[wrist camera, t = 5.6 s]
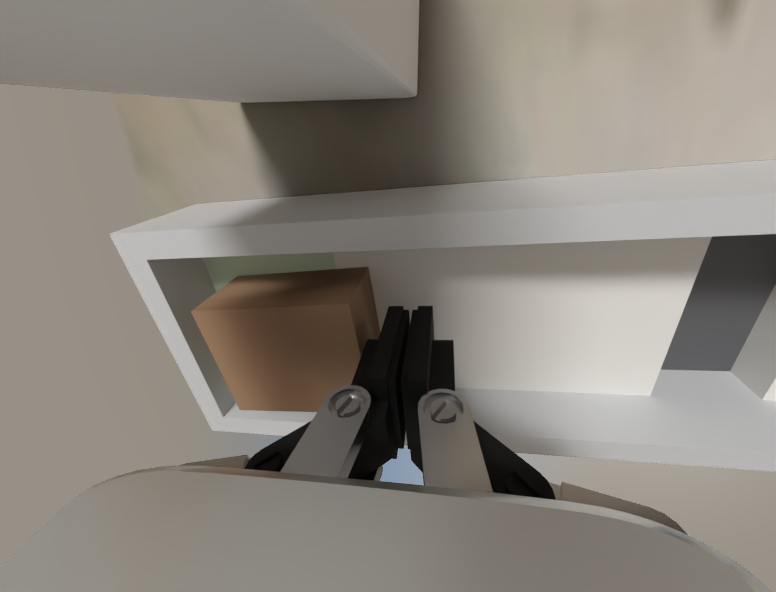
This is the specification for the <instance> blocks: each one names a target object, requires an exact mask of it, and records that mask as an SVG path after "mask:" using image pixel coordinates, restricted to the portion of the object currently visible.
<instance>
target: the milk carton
mask: <svg viewBox="0 0 776 592" xmlns="http://www.w3.org/2000/svg"><path fill="white" fill-rule="evenodd" d="M418 37H419V0H0V84H11V85H23V86H36V87H49V88H50V87H51V88H62V89H75V90H88V91H100V92H113V93H125V94H138V95H151V96H164V97H176V98H189V99H202V100H215V101H228V102H242V103H250V102H287V101H321V100H356V99H390V98H409V97H415V96H416V95H417V80H418Z"/></svg>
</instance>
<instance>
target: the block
mask: <svg viewBox="0 0 776 592" xmlns="http://www.w3.org/2000/svg"><path fill="white" fill-rule="evenodd" d="M191 313H192V315H193V317H194V319H195V321H196V323H197V325H198V327H199V329H200V331H201V333H202V335H203V337H204V339H205V341H206V343H207V345H208V347H209V349H210V351H211V353H212V355H213V357H214V359H215V361H216V363H217V365H218V367H219V369H220V371H221V373H222V375H223V377H224V379H225V381H226V383H227V385H228V387H229V389H230V391H231V393H232V395H233V397H234V399H235V401H236V403H237V405H238V407H239V409H240V410H255V411H295V412H318V410H319V409H320V407H321V405H322V404H323V402H324V401H325V399H326V398H327V397H328V395H329V394H330V393H331V392H333V391H334V390H336V389H338V388H340V387H342V386H348V385H351V383H352V381H353V378H354V375H355V372H356V369H357V367H358V364H359V361H360V358H361V355H362V353H363V350H364V347H365V344H366V342H367V340H368V339H379V336H380V333H381V332H380V327H379V321H378V316H377V311H376V305H375V300H374V294H373V289H372V284H371V278H370V273H369V267H357V268H343V269H329V270H316V271H302V272H288V273H274V274H260V275H247V276H237V277H236V278H234V279H233V280H232V281H230V282H229V283H228V284H226V285H225V286H224V287H222V288H221V289H220V290H218V291H217V292H216V293H214V294H213V295H212V296H211V297H209V298H208V299H207V300H205V301H204V302H203V303H201V304H200V305H199V306H197V307H196V308H195V309H193V310H192V311H191Z"/></svg>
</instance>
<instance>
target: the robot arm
mask: <svg viewBox="0 0 776 592" xmlns="http://www.w3.org/2000/svg"><path fill="white" fill-rule="evenodd" d="M405 435H406V436H407V445H408V449H410V450H411V460H412V461H413V462H414V464H415V465H416V466H417V467H418V468H419V469H420V470H421V471H422V472H423V480H424V486H422V485H412V484H402V483H392V482H381V481H380V478H381V475H382V470H383V467H382V465H383V464H385V463H386V462H387V461H389V460H390V459H391V458H393V459H396V458H397V451H398V448H404V443H405ZM0 592H772V591H771V590H770V589H769V588H768V587H767V586H766V585H764V584H763V583H762V582H761V581H760V580H759V579H758V578H757V577H755V576H754V575H753V574H752V573H751V572H750V571H748V570H747V569H746V568H744V567H743V566H741V565H740V564H738V563H737V562H736V561H734V560H733V559H731V558H730V557H728V556H726V555H725V554H723V553H721V552H720V551H718V550H716V549H714V548H713V547H711V546H709V545H707V544H705V543H703V542H701V541H699V540H697V539H695V538H693V537H691V536H689V535H688V534H687V533H686V532H685V531H684V530H683V529H682V528H681V527H680V526H679V525H678V524H677V523H676V522H675V521H674V520H672V519H671V518H670V517H668V516H667V515H665V514H664V513H662V512H659V511H657V510H655V509H652V508H650V507H647V506H643V505H640V504H636V503H633V502H629V501H626V500H622V499H619V498H616V497H612V496H609V495H605V494H602V493H598V492H595V491H591V490H588V489H585V488H581V487H578V486H574V485H571V484H567V483H564V482H562V484H561V486H559V485H556V484H552V483H549V482H548V481H547V480H546V479H545V478H544V477H543V476H542V475H541V474H540V473H539V472H538V471H537V470H536V469H534V468H533V467H532V466H530V465H529V464H528V463H527V462H525V461H524V460H523V459H522V458H520V457H519V456H517V454H515V453H514V452H513V451H511V450H510V449H509V448H508V447H506V446H505V445H504V444H503V443H501V442H500V441H499V440H498V439H496V438H495V437H494V436H492V435H491V434H490V433H489V432H487V431H486V430H485V429H484V428H482V427H481V426H480V425H479V424H477V423H476V422H475V421H473V418H472V415H471V411H470V408H469V405H468V403H467V401H466V399H465V398H464V397H463V396H462V395H461V394H459V393H457V392H455V373H454V343H453V340H434V321H433V306H418V310H412V316H411V322H410V316H409V310H404V307H403V306H389V307H388V310H387V313H386V316H385V320H384V323H383V326H382V329H381V333H380V336H379V339H368V340H367V342H366V344H365V347H364V350H363V353H362V355H361V358H360V361H359V364H358V367H357V369H356V372H355V375H354V378H353V381H352V383H351V385H348V386H342V387H340V388H338V389H336V390H334V391H333V392H331V393H330V394H329V395H328V397H327V398H326V399H325V401H324V402H323V404H322V405H321V407H320V409H319V410H318V412H317V413H316V415H315V417H314V418H313V420H312V421H310V422H308V423H307V424H305V425H303V426H301V427H300V428H298V429H296V430H294V431H293V432H291V433H289V434H288V435H286V436H284V437H282V438H281V439H279V440H277V441H276V442H274V443H272V444H270V445H269V446H267V447H265V448H264V449H262V450H260V451H259V452H258V453H256V454H255V455H254V456H253V457H252V458H248V456H247V455H241V456H235V457H227V458H220V459H213V460H206V461H199V462H191V463H186V464H182V465H179V466H165V467H164V466H163V467H155V468H149V469H143V470H137V471H133V472H130V473H126V474H123V475H119V476H116V477H113V478H111V479H108V480H106V481H103V482H100V483H98V484H96V485H94V486H92V487H91V488H89V489H87V490H85V491H84V492H82V493H81V494H79V495H78V496H77V497H76V498H74V499H73V500H71V501H70V502H69V503H68V504H66V505H65V506H64V507H63V508H62V509H60V510H59V511H58V512H57V513H56V514H55V515H54V516H53V517H52V518H50V519H49V520H48V521H47V522H46V523H45V524H44V525H43V526H42V527H41V528H40V529H38V530H37V531H36V532H35V533H34V534H33V535H32V536H31V537H30V538H29V539H28V540H27V541H26V542H25V543H24V544H23V545H22V546H21V547H20V548H19V549H18V550H17V551H15V552H14V553H13V554H12V555H11V556H10V558H8V559H7V560H6V561H5V562H4V563H3V564H2V565H1V566H0Z"/></svg>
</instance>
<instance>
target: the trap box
mask: <svg viewBox="0 0 776 592" xmlns="http://www.w3.org/2000/svg"><path fill="white" fill-rule="evenodd" d="M109 235H110V237H111V239H112V240H113V242H114V244H115V246H116V248H117V250H118V252H119V254H120V255H121V257H122V260H123V261H124V263H125V265H126V267H127V269H128V271H129V273H130V275H131V277H132V279H133V280H134V282H135V284H136V286H137V288H138V290H139V292H140V294H141V296H142V298H143V299H144V301H145V303H146V305H147V307H148V309H149V311H150V313H151V315H152V317H153V318H154V320H155V322H156V324H157V326H158V328H159V330H160V332H161V334H162V336H163V337H164V339H165V341H166V343H167V345H168V347H169V349H170V351H171V353H172V355H173V356H174V358H175V360H176V362H177V364H178V366H179V368H180V370H181V372H182V373H183V376H184V377H185V379H186V381H187V383H188V385H189V387H190V389H191V391H192V393H193V395H194V396H195V398H196V400H197V402H198V404H199V406H200V408H201V409H202V412H203V414H204V415H205V417H206V419H207V421H208V423H209V425H210V427H211V429H212V430H214V431H227V432H242V433H255V434H268V435H284V436H286V435H288V434H289V433H291V432H293V431H294V430H296V429H298V428H300V427H301V426H303V425H305V424H307V423H308V422H310V421H312V420H313V418H314V417H315V415H316V413H317V412H295V411H255V410H240V409H239V407H238V405H237V403H236V401H235V399H234V397H233V395H232V393H231V391H230V389H229V387H228V385H227V383H226V381H225V379H224V377H223V375H222V373H221V371H220V369H219V367H218V365H217V363H216V361H215V359H214V357H213V355H212V353H211V351H210V349H209V347H208V345H207V343H206V341H205V339H204V337H203V335H202V333H201V331H200V329H199V327H198V325H197V323H196V321H195V319H194V317H193V315H192V313H191V311H192V310H193V309H195V308H196V307H197V306H199V305H200V304H201V303H203V302H204V301H205V300H207V299H208V298H209V297H211V296H212V295H213V294H214V293H216V292H217V291H218V290H220V289H221V288H222V287H224V286H225V285H226V284H228V283H229V282H230V281H232V280H233V279H234V278H236V277H237V276H247V275H260V274H274V273H288V272H302V271H316V270H329V269H343V268H357V267H369V273H370V278H371V284H372V289H373V294H374V300H375V305H376V311H377V316H378V321H379V327H380V332H381V329H382V326H383V323H384V320H385V316H386V313H387V310H388V307H389V306H403V307H404V310H409V316H410V322H411V316H412V310H418V306H433V321H434V340H453V343H454V373H455V392H457V393H459V394H461V395H462V396H463V397H464V398H465V399H466V401H467V403H468V405H469V408H470V411H471V415H472V418H473V421H475V422H476V423H477V424H479V425H480V426H481V427H482V428H484V429H485V430H486V431H487V432H489V433H490V434H491V435H492V436H494V437H495V438H496V439H498V440H499V441H500V442H501V443H503V444H504V445H505V446H506V447H508V448H509V449H510V450H511V451H513V452H515V453H528V454H544V455H556V456H569V457H583V458H597V459H610V460H624V461H638V462H651V463H665V464H679V465H693V466H706V467H721V468H733V469H748V470H761V471H774V472H776V159H775V160H762V161H749V162H736V163H723V164H710V165H697V166H684V167H671V168H658V169H645V170H632V171H619V172H606V173H593V174H580V175H567V176H554V177H541V178H528V179H515V180H502V181H489V182H476V183H463V184H450V185H437V186H424V187H411V188H398V189H385V190H372V191H359V192H346V193H333V194H320V195H307V196H294V197H281V198H268V199H255V200H242V201H229V202H216V203H203V204H195V205H192V206H189V207H186V208H183V209H181V210H178V211H175V212H172V213H169V214H166V215H163V216H160V217H157V218H154V219H151V220H148V221H145V222H143V223H140V224H137V225H134V226H131V227H128V228H125V229H122V230H119V231H116V232H114V233H111V234H109ZM404 444H405V445H407V436H406V435H405V443H404Z"/></svg>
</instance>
